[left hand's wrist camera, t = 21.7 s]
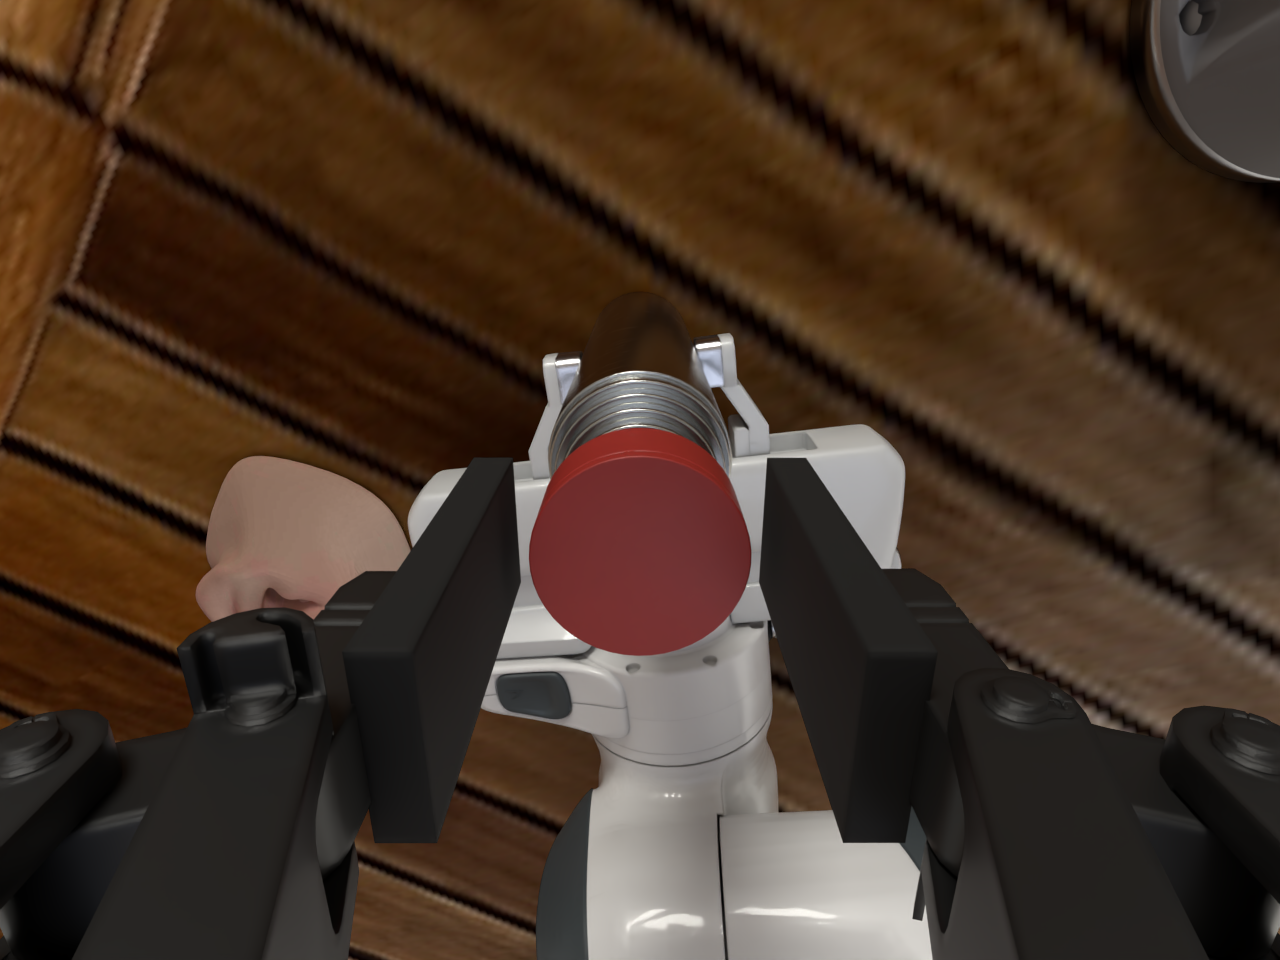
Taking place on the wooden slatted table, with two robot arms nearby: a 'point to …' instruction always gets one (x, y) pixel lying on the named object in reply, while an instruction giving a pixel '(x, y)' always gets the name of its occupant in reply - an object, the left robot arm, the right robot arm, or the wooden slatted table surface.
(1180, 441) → the wooden slatted table surface
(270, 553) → the anatomical model
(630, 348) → the bottle
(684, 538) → the cap
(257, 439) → the wooden slatted table surface
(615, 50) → the wooden slatted table surface
